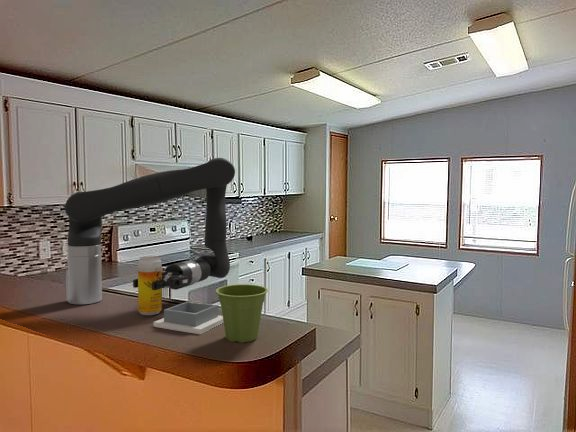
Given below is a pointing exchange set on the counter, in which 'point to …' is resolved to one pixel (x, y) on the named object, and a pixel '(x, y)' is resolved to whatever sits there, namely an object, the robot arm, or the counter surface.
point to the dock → (190, 317)
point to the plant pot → (241, 310)
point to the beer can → (149, 285)
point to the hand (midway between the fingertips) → (143, 285)
